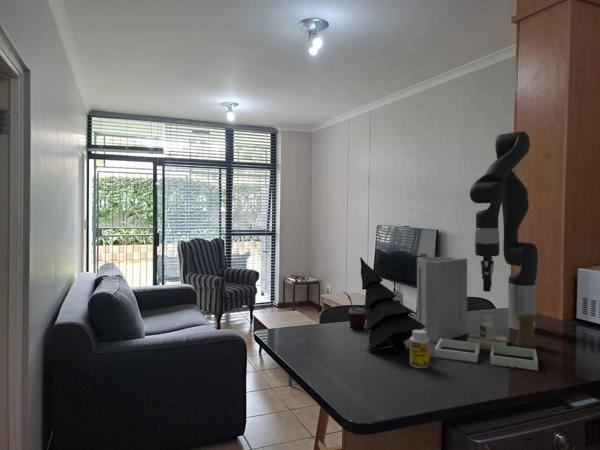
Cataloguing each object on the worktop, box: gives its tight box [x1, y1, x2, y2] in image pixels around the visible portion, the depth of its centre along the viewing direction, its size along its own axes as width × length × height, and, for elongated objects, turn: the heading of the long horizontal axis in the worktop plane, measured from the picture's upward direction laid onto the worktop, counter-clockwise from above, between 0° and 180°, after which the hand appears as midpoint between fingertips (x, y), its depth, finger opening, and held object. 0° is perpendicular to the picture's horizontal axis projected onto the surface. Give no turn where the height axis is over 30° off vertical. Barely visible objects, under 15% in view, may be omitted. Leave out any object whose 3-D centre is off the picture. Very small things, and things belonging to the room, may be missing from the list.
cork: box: [515, 312, 537, 349], centre depth 146 cm, size 6×6×11 cm
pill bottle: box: [479, 314, 495, 340], centre depth 147 cm, size 4×4×8 cm
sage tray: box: [489, 344, 539, 371], centre depth 131 cm, size 12×12×2 cm
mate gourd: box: [343, 291, 367, 332], centre depth 169 cm, size 8×8×15 cm
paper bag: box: [416, 256, 468, 344], centre depth 161 cm, size 19×15×28 cm
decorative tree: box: [359, 257, 426, 355], centre depth 146 cm, size 15×15×35 cm
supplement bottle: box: [409, 330, 430, 369], centre depth 128 cm, size 6×6×10 cm
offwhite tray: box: [434, 338, 481, 363], centre depth 138 cm, size 12×12×2 cm
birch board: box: [466, 332, 508, 351], centre depth 147 cm, size 12×12×2 cm
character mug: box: [391, 290, 404, 305], centre depth 174 cm, size 11×7×13 cm, turn 131°
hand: (487, 289), depth 147 cm, fingers open, 8 cm apart
